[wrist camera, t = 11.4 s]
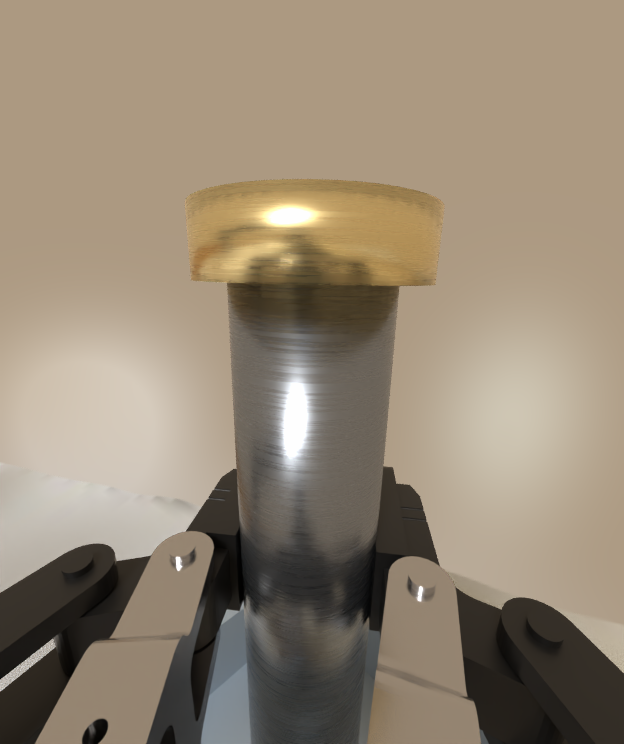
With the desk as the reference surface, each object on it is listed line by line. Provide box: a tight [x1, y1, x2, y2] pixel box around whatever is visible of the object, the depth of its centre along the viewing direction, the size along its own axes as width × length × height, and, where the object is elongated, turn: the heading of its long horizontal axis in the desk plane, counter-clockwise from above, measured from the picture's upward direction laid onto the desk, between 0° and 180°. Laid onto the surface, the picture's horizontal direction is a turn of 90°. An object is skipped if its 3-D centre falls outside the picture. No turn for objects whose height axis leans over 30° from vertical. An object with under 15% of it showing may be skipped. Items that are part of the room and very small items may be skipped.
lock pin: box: [185, 179, 444, 744], centre depth 8 cm, size 4×4×17 cm
